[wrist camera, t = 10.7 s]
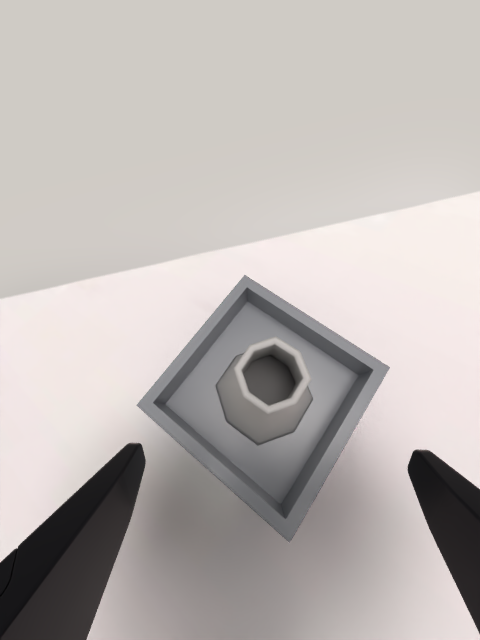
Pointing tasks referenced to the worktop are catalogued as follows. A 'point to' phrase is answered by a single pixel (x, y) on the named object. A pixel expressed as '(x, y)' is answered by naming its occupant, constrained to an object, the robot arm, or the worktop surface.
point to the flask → (265, 391)
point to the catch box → (285, 452)
